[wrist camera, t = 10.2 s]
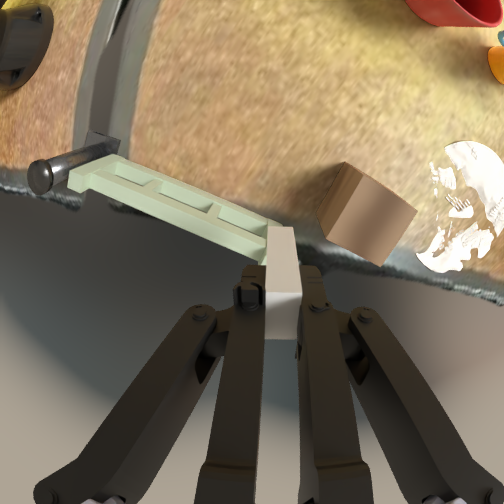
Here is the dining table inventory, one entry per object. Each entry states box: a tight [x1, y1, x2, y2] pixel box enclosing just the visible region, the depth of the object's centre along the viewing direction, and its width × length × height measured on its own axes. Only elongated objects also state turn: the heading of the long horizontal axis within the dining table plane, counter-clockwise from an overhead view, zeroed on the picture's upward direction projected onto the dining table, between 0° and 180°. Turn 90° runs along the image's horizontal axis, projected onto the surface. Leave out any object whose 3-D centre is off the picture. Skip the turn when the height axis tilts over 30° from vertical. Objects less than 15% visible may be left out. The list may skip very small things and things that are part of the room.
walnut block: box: [316, 162, 418, 267], centre depth 27 cm, size 7×7×7 cm
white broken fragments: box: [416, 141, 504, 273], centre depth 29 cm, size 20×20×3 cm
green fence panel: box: [67, 154, 283, 265], centre depth 26 cm, size 22×2×8 cm, turn 66°
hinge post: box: [27, 130, 121, 195], centre depth 24 cm, size 5×5×12 cm
